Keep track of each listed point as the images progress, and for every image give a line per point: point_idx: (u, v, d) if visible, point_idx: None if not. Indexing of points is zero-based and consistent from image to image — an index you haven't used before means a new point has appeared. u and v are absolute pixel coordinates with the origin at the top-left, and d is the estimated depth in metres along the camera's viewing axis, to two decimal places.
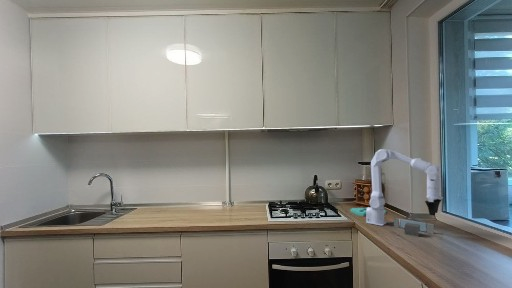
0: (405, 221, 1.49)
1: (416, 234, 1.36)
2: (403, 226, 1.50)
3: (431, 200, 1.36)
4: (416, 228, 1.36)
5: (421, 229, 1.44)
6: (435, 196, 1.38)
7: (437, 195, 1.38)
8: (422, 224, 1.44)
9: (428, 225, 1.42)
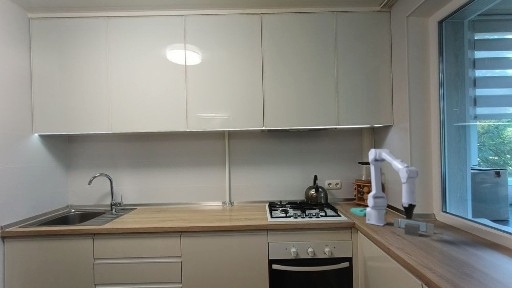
0: (405, 221, 1.49)
1: (416, 234, 1.36)
2: (403, 226, 1.50)
3: (406, 205, 1.29)
4: (416, 228, 1.36)
5: (421, 229, 1.44)
6: (410, 200, 1.32)
7: (412, 199, 1.32)
8: (422, 224, 1.44)
9: (428, 225, 1.42)
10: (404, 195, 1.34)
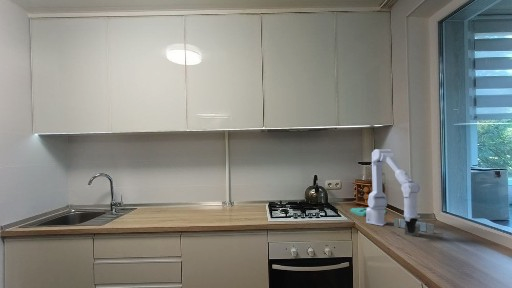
0: None
1: (416, 234, 1.36)
2: (403, 226, 1.50)
3: (407, 220, 1.31)
4: (416, 228, 1.36)
5: (421, 229, 1.44)
6: (412, 215, 1.34)
7: (414, 214, 1.34)
8: (422, 224, 1.44)
9: (428, 225, 1.42)
10: (406, 209, 1.36)
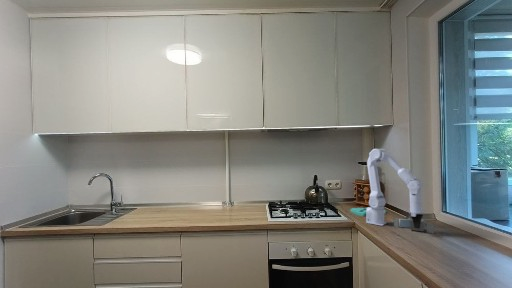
0: (405, 220, 1.50)
1: (422, 229, 1.43)
2: (403, 226, 1.51)
3: (414, 215, 1.38)
4: (422, 223, 1.43)
5: None
6: (418, 210, 1.41)
7: (419, 209, 1.41)
8: None
9: (428, 225, 1.42)
10: (412, 206, 1.43)
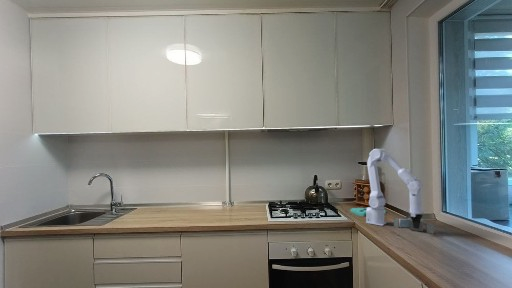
0: (405, 220, 1.51)
1: (421, 229, 1.44)
2: (403, 225, 1.51)
3: (413, 215, 1.39)
4: (421, 223, 1.44)
5: None
6: (417, 211, 1.42)
7: (419, 210, 1.42)
8: None
9: (428, 225, 1.42)
10: (411, 206, 1.44)
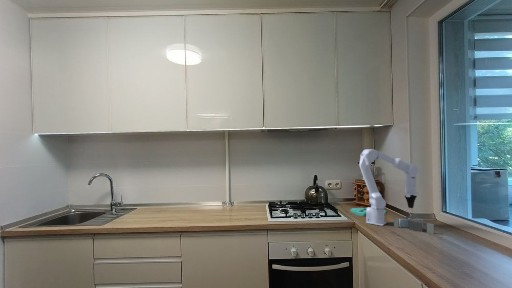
0: (405, 220, 1.51)
1: (420, 229, 1.44)
2: (403, 225, 1.51)
3: (408, 196, 1.53)
4: (420, 224, 1.44)
5: None
6: (412, 192, 1.56)
7: (413, 191, 1.56)
8: None
9: (428, 225, 1.42)
10: (406, 187, 1.58)
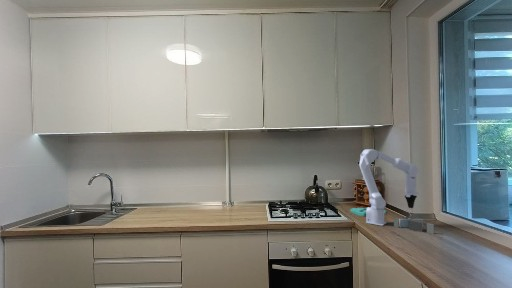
0: (405, 220, 1.51)
1: (420, 229, 1.44)
2: (403, 225, 1.51)
3: (408, 196, 1.53)
4: (420, 224, 1.44)
5: None
6: (412, 192, 1.56)
7: (413, 191, 1.56)
8: None
9: (428, 225, 1.42)
10: (406, 187, 1.58)
